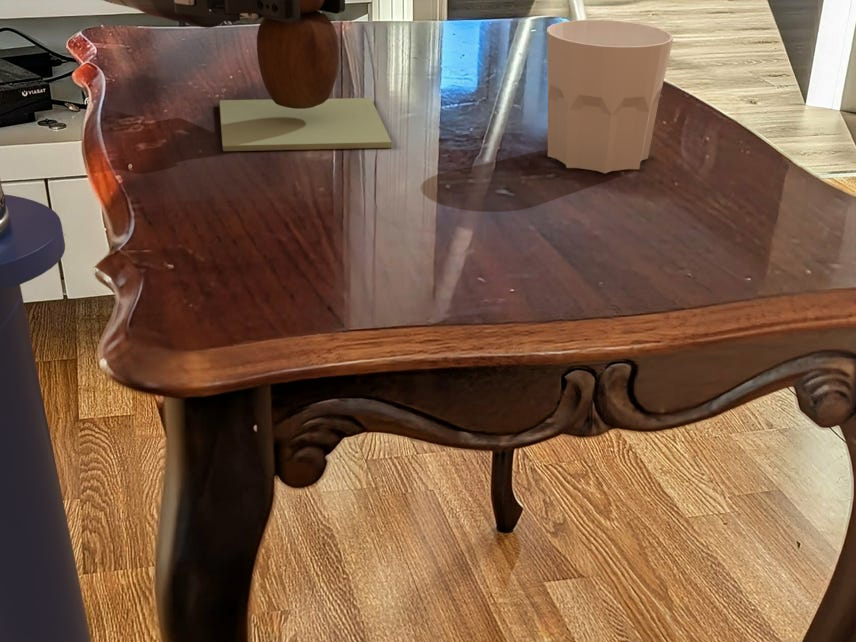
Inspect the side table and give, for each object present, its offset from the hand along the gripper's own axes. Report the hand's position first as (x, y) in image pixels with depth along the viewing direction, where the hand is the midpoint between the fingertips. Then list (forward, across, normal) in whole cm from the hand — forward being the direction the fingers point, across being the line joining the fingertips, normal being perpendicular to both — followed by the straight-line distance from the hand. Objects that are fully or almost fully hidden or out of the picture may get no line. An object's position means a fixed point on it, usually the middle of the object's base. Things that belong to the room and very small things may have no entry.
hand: (319, 4), depth 95 cm
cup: (+22, +10, +10) cm, 26 cm away
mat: (-3, 0, +10) cm, 11 cm away
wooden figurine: (-3, 0, +9) cm, 9 cm away
